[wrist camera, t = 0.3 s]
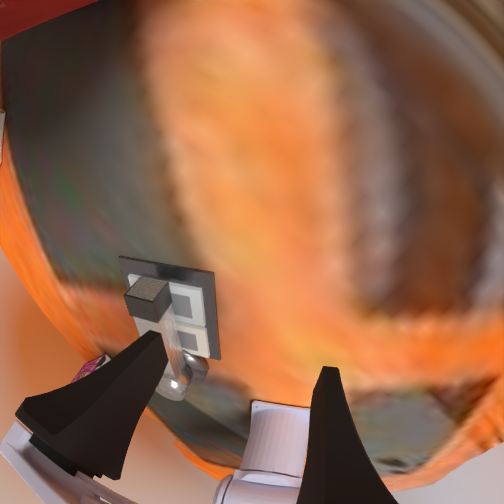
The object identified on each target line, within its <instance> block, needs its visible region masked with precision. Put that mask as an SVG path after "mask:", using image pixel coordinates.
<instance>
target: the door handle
mask: <svg viewBox="0 0 504 504" xmlns="http://www.w3.org/2000/svg"><path fill="white" fill-rule="evenodd" d="M123 296H124V299H125V302H126V305H127V308H128V311H129V314H130V315H131V316H133V318H134V321H135V324H136V327H137V330H138V332H139V335H140V337H141V336H142V335H143V334H145V333H146V332H147V331H149V330H153V331H156V332H159V333H161V335H162V338H163V342H164V346H165V349H166V353H167V356H168V359H169V361H168V364H167V366H166V369H165V371H164V374H163V376H162V378H161V380H160V382H159V384H158V386H157V388H156V389H155V391H156V392H157V393H159V394H160V395H162V396H164V397H166V398H168V399H171V400H175V401H181V400H182V399H183V398H184V395H185V393H186V391H187V389H188V387H189V385H190V382H191V380H192V378H193V372H192V371H191V369H190V368H189V367H188V366H186V363H185V359H184V355H183V351H182V347H181V343H180V339H179V335H178V330H177V326H176V321H175V317H174V312H173V307H172V297H171V292H170V286H169V282H167V281H162V280H157V279H153V278H148V277H143V276H140V278H139V279H138V280H137V281H136V282H135V283H134V284H133V285H132V286H131V287H130V289H129V290H128V291H127V292H126V293H125V294H124V295H123Z"/></svg>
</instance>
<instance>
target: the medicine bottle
mask: <svg viewBox="0 0 504 504" xmlns="http://www.w3.org/2000/svg"><path fill="white" fill-rule="evenodd" d="M5 115H6V112H5V111H4V110H2V109H1V108H0V164H1V163H2V144H3V132H4V123H5Z"/></svg>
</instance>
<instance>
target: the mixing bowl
mask: <svg viewBox="0 0 504 504" xmlns="http://www.w3.org/2000/svg"><path fill="white" fill-rule="evenodd" d="M96 1H99V0H0V41H2V40H5V39H7V38H9V37H11V36H14V35H16V34H18V33H20V32H23V31H25V30H27V29H29V28H32V27H34V26H36V25H39V24H41V23H43V22H46V21H48V20H50V19H53V18H55V17H58V16H60V15H63V14H65V13H68V12H70V11H73V10H76V9H79V8H81V7H84V6H86V5H89V4H91V3H94V2H96Z"/></svg>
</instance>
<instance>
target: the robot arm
mask: <svg viewBox="0 0 504 504" xmlns="http://www.w3.org/2000/svg"><path fill="white" fill-rule="evenodd" d="M168 361H169V359H168V356H167V353H166V349H165V346H164V342H163V338H162V335H161V333H159V332H156V331H153V330H149V331H147V332H146V333H145V334H143V335H142V336H141V337H140V338H138V339H137V340H136V341H135V342H133V343H132V344H131V345H130V346H128V347H127V348H126V349H124V350H123V351H122V352H120V353H119V354H118V355H116V356H115V357H114V358H112V359H111V360H110V361H108V362H107V363H105V364H104V365H102V366H101V367H99V368H98V369H96V370H95V371H93V372H92V373H90V374H88V375H86V376H85V377H83V378H81V379H79V380H77V381H75V382H73V383H71V384H68V385H66V386H64V387H61V388H59V389H56V390H53V391H51V392H48V393H44V394H41V395H36V396H32V397H27V398H25V400H24V401H23V403H22V404H21V405H20V407H19V408H18V410H17V411H16V413H15V415H16V417H17V418H18V419H19V420H20V421H21V422H22V423H23V424H25V425H26V426H27V427H28V428H29V429H30V430H31V431H32V432H33V434H32V433H31V432H29V431H28V430H27V429H26V428H25V427H24V426H23V425H22V424H20V423H19V422H18V421H17V420H16V421H15V422H14V424H13V425H12V427H11V428H10V430H9V431H8V433H7V434H6V436H5V438H4V439H3V441H2V442H1V444H0V453H1V454H2V455H3V456H4V457H5V459H6V460H7V461H8V462H9V463H10V464H11V466H12V467H13V468H14V469H15V470H16V471H17V473H18V474H19V475H20V476H21V478H22V479H23V480H24V481H25V482H26V484H27V485H28V486H29V487H30V488H31V489H32V490H33V492H35V494H36V495H37V496H38V497H39V498H40V499H41V500H42V502H43V503H44V504H109V503H106V502H104V501H102V500H100V497H101V498H103V499H105V500H107V501H108V502H110V503H112V504H138V503H136V502H133V501H131V500H129V499H127V498H125V497H123V496H121V495H119V494H118V493H116V492H114V491H112V490H110V489H108V488H107V487H105V486H103V485H101V484H100V483H98V482H96V481H95V480H93V477H94V475H96V476H97V477H99V478H101V477H102V475H105V476H107V477H108V478H110V479H112V480H119V479H120V477H121V472H122V468H123V464H124V460H125V456H126V453H127V450H128V447H129V444H130V441H131V438H132V436H133V433H134V430H135V428H136V425H137V423H138V420H139V418H140V416H141V414H142V412H143V411H144V409H145V407H146V405H147V403H148V402H149V400H150V398H151V396H152V395H153V393H154V391H155V389H156V388H157V386H158V384H159V382H160V380H161V378H162V376H163V374H164V371H165V369H166V366H167V364H168ZM250 429H251V430H250V434H249V437H248V441H247V445H246V448H245V452H244V455H243V458H242V462H241V465H240V469H239V470H235V472H234V475H232V474H229V475H228V476H226V477H225V478H223V479H222V480H221V482H220V483H219V485H218V487H217V489H216V492H215V496H214V499H213V504H398V503H397V501H396V500H395V499H394V497H393V496H392V495H391V493H390V492H389V490H388V489H387V487H386V486H385V485H384V483H383V482H382V480H381V478H380V477H379V475H378V473H377V472H376V470H375V468H374V466H373V465H372V463H371V461H370V459H369V457H368V455H367V453H366V451H365V449H364V447H363V445H362V442H361V440H360V438H359V435H358V433H357V430H356V427H355V425H354V422H353V419H352V416H351V413H350V410H349V407H348V404H347V401H346V397H345V393H344V390H343V386H342V382H341V377H340V372H339V369H338V368H337V367H327V366H323V368H322V370H321V373H320V375H319V378H318V380H317V383H316V385H315V388H314V390H313V395H312V401H311V408H302V407H294V406H286V405H280V404H273V403H267V402H262V401H256V400H255V401H253V402H252V412H251V428H250ZM307 443H308V448H307ZM306 449H307V458H306V464H305V469H304V474H303V478H302V473H303V468H304V462H305V456H306Z"/></svg>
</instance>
